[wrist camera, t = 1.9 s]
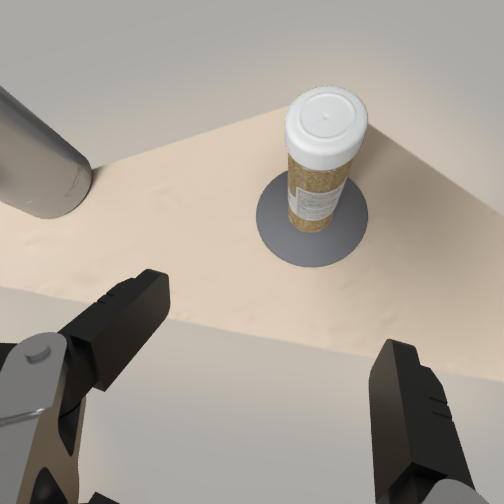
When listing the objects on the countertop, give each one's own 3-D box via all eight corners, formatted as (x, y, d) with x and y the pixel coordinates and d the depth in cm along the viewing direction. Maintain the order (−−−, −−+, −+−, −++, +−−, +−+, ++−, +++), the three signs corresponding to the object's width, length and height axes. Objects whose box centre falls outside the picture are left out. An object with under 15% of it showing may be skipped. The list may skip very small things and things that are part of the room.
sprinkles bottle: (293, 189, 29) (295, 77, 16) (337, 197, 28) (377, 86, 15) (282, 229, 28) (275, 144, 15) (328, 239, 27) (362, 158, 14)
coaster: (243, 252, 28) (243, 251, 28) (272, 158, 30) (272, 157, 30) (354, 280, 26) (355, 279, 26) (376, 176, 28) (377, 175, 28)
